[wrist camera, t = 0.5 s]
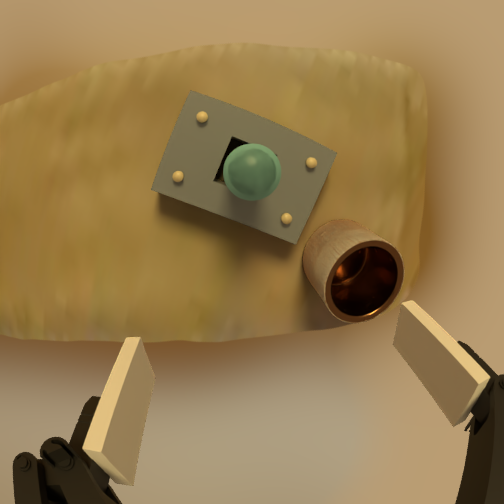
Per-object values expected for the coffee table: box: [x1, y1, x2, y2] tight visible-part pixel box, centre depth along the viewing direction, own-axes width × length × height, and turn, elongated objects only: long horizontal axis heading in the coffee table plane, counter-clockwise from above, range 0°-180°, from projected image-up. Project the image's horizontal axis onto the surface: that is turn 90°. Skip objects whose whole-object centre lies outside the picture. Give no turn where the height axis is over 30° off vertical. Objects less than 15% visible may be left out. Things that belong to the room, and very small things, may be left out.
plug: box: [223, 144, 281, 201], centre depth 28 cm, size 5×5×12 cm
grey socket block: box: [151, 91, 337, 244], centre depth 32 cm, size 18×12×5 cm, turn 67°
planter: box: [303, 219, 404, 323], centre depth 35 cm, size 11×11×10 cm
